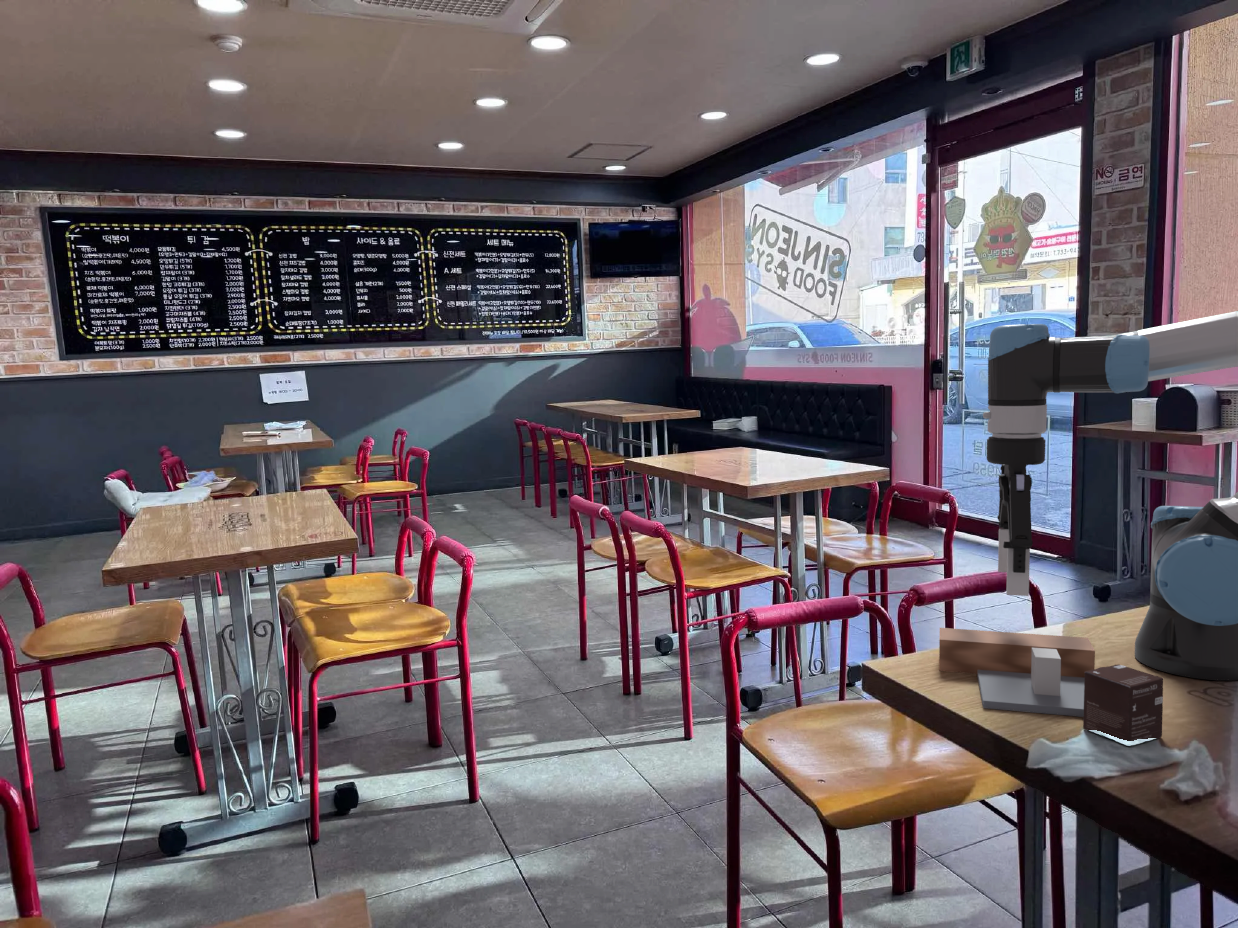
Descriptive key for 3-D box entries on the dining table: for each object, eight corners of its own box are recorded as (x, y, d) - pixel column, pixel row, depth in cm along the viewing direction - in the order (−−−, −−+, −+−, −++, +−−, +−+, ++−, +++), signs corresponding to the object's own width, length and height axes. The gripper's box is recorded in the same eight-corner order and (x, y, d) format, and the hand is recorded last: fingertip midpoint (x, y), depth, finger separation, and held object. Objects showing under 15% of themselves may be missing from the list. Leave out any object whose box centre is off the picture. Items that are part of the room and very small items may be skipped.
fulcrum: (1104, 686, 117) (1105, 643, 117) (1123, 720, 106) (1124, 673, 106) (977, 676, 123) (977, 635, 122) (983, 707, 111) (983, 662, 111)
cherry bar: (1087, 671, 124) (1088, 637, 124) (1094, 685, 119) (1094, 650, 118) (939, 659, 131) (939, 627, 131) (939, 672, 126) (939, 639, 125)
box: (1127, 748, 99) (1129, 686, 98) (1081, 729, 104) (1082, 670, 103) (1163, 738, 101) (1165, 677, 100) (1115, 719, 107) (1117, 662, 106)
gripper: (981, 428, 134) (978, 562, 136) (994, 443, 111) (990, 603, 113) (1034, 428, 132) (1030, 564, 134) (1058, 443, 108) (1054, 607, 111)
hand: (1012, 583), depth 124 cm, fingers open, 13 cm apart
